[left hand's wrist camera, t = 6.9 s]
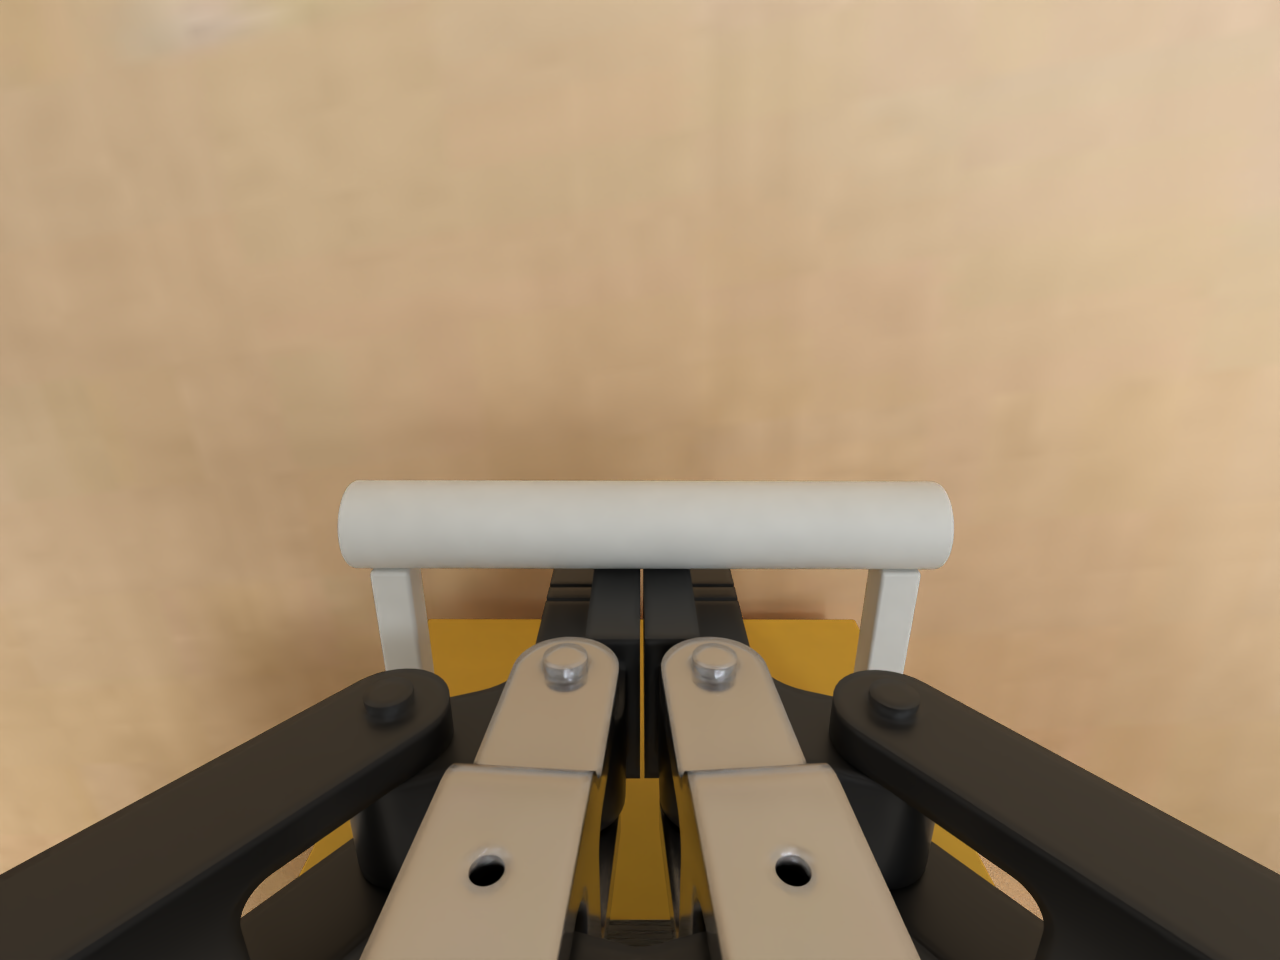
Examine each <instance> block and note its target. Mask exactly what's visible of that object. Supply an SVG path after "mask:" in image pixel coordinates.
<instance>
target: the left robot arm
mask: <svg viewBox="0 0 1280 960" xmlns="http://www.w3.org/2000/svg"><path fill="white" fill-rule="evenodd" d="M643 669H644V778H659V832H660V840H661V848H662V857H663V865H664V873H665V881H666V889H667V898H668V906H669V914H670V922H671V930H672V938H673V940H670V941H666V942H662V943H659V944H655V945H651V946H645V947H635V946H629V945H625V944H621V943H618V942H614V941H610V940H607V939H608V931H609V922H610V914H611V906H612V898H613V890H614V881H615V873H616V865H617V857H618V849H619V841H620V832H621V811H622V809H623V806H624V804H625V795H626V779H640V569H554V571H553V575H552V579H551V583H550V587H549V591H548V595H547V601H546V603H545V607H544V611H543V615H542V619H541V623H540V627H539V631H538V635H537V639H536V644H535V645H533V646H531V647H530V648H528V649H526V650H525V651H524V652H523V653H522V654H521V655H520V656H519V657H518V658H517V659H516V661H515V663H514V665H513V667H512V670H511V672H510V674H509V677H508V679H507V681H505V682H503V683H501V684H499V685H496V686H494V687H491V688H488V689H484V690H480V691H476V692H471V693H467V694H462V695H457V696H453V697H450V693H449V688H448V686H447V684H446V682H445V681H444V680H443V679H442V678H441V677H440V676H438V675H436V674H434V673H432V672H429V671H426V670H421V669H410V668H405V669H394V670H389V671H384V672H381V673H377V674H374V675H372V676H369V677H366V678H364V679H362V680H360V681H358V682H356V683H354V684H353V685H351V686H349V687H347V688H345V689H343V690H342V691H340V692H338V693H336V694H334V695H332V696H330V697H329V698H327V699H325V700H323V701H321V702H319V703H317V704H316V705H314V706H312V707H310V708H308V709H306V710H304V711H303V712H301V713H299V714H297V715H295V716H293V717H292V718H290V719H288V720H286V721H284V722H282V723H280V724H279V725H277V726H275V727H273V728H271V729H269V730H267V731H266V732H264V733H262V734H260V735H258V736H256V737H255V738H253V739H251V740H249V741H247V742H245V743H243V744H242V745H240V746H238V747H236V748H234V749H232V750H230V751H229V752H227V753H225V754H223V755H221V756H219V757H217V758H216V759H214V760H212V761H210V762H208V763H206V764H205V765H203V766H201V767H199V768H197V769H195V770H193V771H192V772H190V773H188V774H186V775H184V776H182V777H180V778H179V779H177V780H175V781H173V782H171V783H169V784H168V785H166V786H164V787H162V788H160V789H158V790H156V791H155V792H153V793H151V794H149V795H147V796H145V797H143V798H142V799H140V800H138V801H136V802H134V803H132V804H130V805H129V806H127V807H125V808H123V809H121V810H119V811H118V812H116V813H114V814H112V815H110V816H108V817H106V818H105V819H103V820H101V821H99V822H97V823H95V824H93V825H92V826H90V827H88V828H86V829H84V830H82V831H81V832H79V833H77V834H75V835H73V836H71V837H69V838H68V839H66V840H64V841H62V842H60V843H58V844H56V845H55V846H53V847H51V848H49V849H47V850H45V851H44V852H42V853H40V854H38V855H36V856H34V857H32V858H31V859H29V860H27V861H25V862H23V863H21V864H19V865H18V866H16V867H14V868H12V869H10V870H8V871H6V872H5V873H3V874H1V875H0V960H1280V875H1279V874H1277V873H1275V872H1274V871H1272V870H1270V869H1268V868H1266V867H1264V866H1262V865H1261V864H1259V863H1257V862H1255V861H1253V860H1251V859H1249V858H1248V857H1246V856H1244V855H1242V854H1240V853H1238V852H1237V851H1235V850H1233V849H1231V848H1229V847H1227V846H1225V845H1224V844H1222V843H1220V842H1218V841H1216V840H1214V839H1212V838H1211V837H1209V836H1207V835H1205V834H1203V833H1201V832H1199V831H1198V830H1196V829H1194V828H1192V827H1190V826H1188V825H1187V824H1185V823H1183V822H1181V821H1179V820H1177V819H1175V818H1174V817H1172V816H1170V815H1168V814H1166V813H1164V812H1162V811H1161V810H1159V809H1157V808H1155V807H1153V806H1151V805H1150V804H1148V803H1146V802H1144V801H1142V800H1140V799H1138V798H1137V797H1135V796H1133V795H1131V794H1129V793H1127V792H1125V791H1124V790H1122V789H1120V788H1118V787H1116V786H1114V785H1112V784H1111V783H1109V782H1107V781H1105V780H1103V779H1101V778H1100V777H1098V776H1096V775H1094V774H1092V773H1090V772H1088V771H1087V770H1085V769H1083V768H1081V767H1079V766H1077V765H1075V764H1074V763H1072V762H1070V761H1068V760H1066V759H1064V758H1063V757H1061V756H1059V755H1057V754H1055V753H1053V752H1051V751H1050V750H1048V749H1046V748H1044V747H1042V746H1040V745H1038V744H1037V743H1035V742H1033V741H1031V740H1029V739H1027V738H1025V737H1024V736H1022V735H1020V734H1018V733H1016V732H1014V731H1013V730H1011V729H1009V728H1007V727H1005V726H1003V725H1001V724H1000V723H998V722H996V721H994V720H992V719H990V718H988V717H987V716H985V715H983V714H981V713H979V712H977V711H976V710H974V709H972V708H970V707H968V706H966V705H964V704H963V703H961V702H959V701H957V700H955V699H953V698H951V697H950V696H948V695H946V694H944V693H942V692H940V691H938V690H937V689H935V688H933V687H931V686H929V685H927V684H926V683H924V682H922V681H919V680H917V679H915V678H913V677H910V676H907V675H904V674H900V673H897V672H891V671H886V670H864V671H858V672H855V673H851V674H849V675H847V676H845V677H844V678H842V679H841V680H840V681H839V682H838V683H837V685H836V686H835V689H834V691H833V696H829V695H824V694H820V693H815V692H810V691H806V690H802V689H798V688H795V687H792V686H789V685H786V684H784V683H782V682H780V681H778V680H776V679H774V678H773V677H771V674H770V672H769V669H768V667H767V665H766V663H765V661H764V659H763V658H762V657H761V656H760V655H759V654H758V653H757V652H756V651H755V650H754V649H752V648H750V645H749V641H748V637H747V634H746V630H745V626H744V622H743V618H742V614H741V610H740V606H739V602H738V601H737V595H736V591H735V587H734V583H733V579H732V575H731V571H730V569H643ZM349 820H350V824H351V829H352V834H353V838H352V839H350V840H349V841H348V842H346V843H345V844H343V845H342V846H341V847H339V848H338V849H337V850H335V851H334V852H332V853H331V854H330V855H328V856H327V857H325V858H324V859H323V860H321V861H320V862H318V863H317V864H316V865H314V866H313V867H311V868H310V869H309V870H307V871H306V872H305V873H303V874H302V875H300V876H299V877H298V878H296V879H295V880H293V881H292V882H291V883H289V884H288V885H286V886H285V887H284V888H282V889H281V890H279V891H278V892H277V893H275V894H274V895H273V896H271V897H270V898H268V899H267V900H266V901H264V902H263V903H261V904H260V905H259V906H257V907H256V908H254V909H253V910H252V911H250V912H249V913H247V914H246V915H245V916H243V917H242V918H241V914H242V911H243V908H244V906H245V904H246V902H247V900H248V898H249V897H250V895H251V894H252V893H253V891H254V890H255V889H256V888H257V887H258V886H259V884H260V883H262V882H263V881H264V880H265V879H266V878H267V877H268V876H270V875H271V874H272V873H274V872H275V871H277V870H278V869H279V868H281V867H282V866H284V865H285V864H287V863H288V862H290V861H291V860H292V859H294V858H295V857H297V856H298V855H300V854H301V853H302V852H304V851H305V850H307V849H308V848H310V847H311V846H313V845H314V844H315V843H317V842H318V841H320V840H321V839H323V838H324V837H325V836H327V835H328V834H330V833H331V832H333V831H334V830H336V829H337V828H338V827H340V826H341V825H343V824H344V823H346V822H347V821H349ZM935 823H936V824H937V825H939V826H940V827H942V828H943V829H944V830H946V831H947V832H949V833H950V834H952V835H953V836H955V837H956V838H957V839H959V840H960V841H962V842H963V843H965V844H966V845H967V846H969V847H970V848H972V849H973V850H975V851H976V852H978V853H979V854H980V855H982V856H983V857H985V858H986V859H988V860H989V861H990V862H992V863H993V864H995V865H996V866H998V867H999V868H1001V869H1002V870H1003V871H1005V872H1006V873H1008V874H1009V875H1011V876H1012V877H1013V878H1015V879H1016V880H1017V881H1018V882H1020V883H1021V884H1022V885H1023V886H1024V887H1025V888H1026V889H1027V891H1028V892H1029V893H1030V894H1031V895H1032V897H1033V898H1034V900H1035V901H1036V903H1037V905H1038V906H1039V908H1040V911H1041V913H1042V916H1043V920H1044V921H1043V920H1041V919H1040V918H1038V917H1037V916H1035V915H1034V914H1033V913H1031V912H1030V911H1028V910H1027V909H1026V908H1024V907H1023V906H1021V905H1020V904H1019V903H1017V902H1016V901H1014V900H1013V899H1012V898H1010V897H1009V896H1007V895H1006V894H1005V893H1003V892H1002V891H1001V890H999V889H998V888H996V887H995V886H994V885H992V884H991V883H989V882H988V881H987V880H985V879H984V878H982V877H981V876H980V875H978V874H977V873H975V872H974V871H973V870H971V869H970V868H969V867H967V866H966V865H964V864H963V863H962V862H960V861H959V860H957V859H956V858H955V857H953V856H952V855H950V854H949V853H948V852H946V851H945V850H943V849H942V848H941V847H939V846H938V845H937V844H935V843H934V842H932V841H931V840H932V835H933V831H934V826H935Z"/></svg>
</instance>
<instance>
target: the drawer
mask: <svg viewBox="0 0 1280 960" xmlns="http://www.w3.org/2000/svg"><path fill="white" fill-rule="evenodd" d="M953 537H954V519H953V511H952V506H951V503H950V500H949V497H948V495H947V493H946V491H945V490H944V488H943V487H942V486H941V485H940V484H938V483H936V482H932V481H569V480H356V481H354V482H352V483H351V484H350V485H349V486H348V487H347V488H346V490H345V492H344V494H343V497H342V500H341V503H340V508H339V514H338V540H339V546H340V550H341V553H342V556H343V558H344V560H345V561H346V563H347V564H348V565H349V566H351V567H353V568H373V570H372V571H371V574H370V576H371V583H372V589H373V595H374V601H375V607H376V614H377V620H378V626H379V632H380V638H381V644H382V651H383V657H384V663H385V669H386V671H389V670H394V669H405V668H410V669H421V670H426V671H429V672H432V673H434V674H436V675H438V676H440V677H441V678H442V679H443V680H444V681H445V682H446V684H447V686H448V688H449V693H450V697H453V696H457V695H462V694H467V693H471V692H476V691H480V690H484V689H488V688H491V687H494V686H496V685H499V684H501V683H503V682H505V681H507V679H508V677H509V674H510V672H511V670H512V667H513V665H514V663H515V661H516V659H517V658H518V657H519V656H520V655H521V654H522V653H523V652H524V651H525V650H526V649H528V648H530V647H531V646H533V645H535V644H536V639H537V635H538V631H539V627H540V623H541V619H429V620H428V621H427V613H426V605H425V598H424V590H423V582H422V575H421V568H517V569H869V571H868V578H867V585H866V592H865V598H864V605H863V612H862V619H861V626H860V630H859V628H858V626H857V624H856V622H855V620H760V619H743V622H744V626H745V630H746V634H747V637H748V641H749V645H750V648H752V649H754V650H755V651H756V652H757V653H758V654H759V655H760V656H761V657H762V658H763V659H764V661H765V663H766V665H767V667H768V669H769V672H770V674H771V677H773V678H774V679H776V680H778V681H780V682H782V683H784V684H786V685H789V686H792V687H795V688H798V689H802V690H806V691H810V692H815V693H820V694H824V695H829V696H833V691H834V689H835V686H836V685H837V683H838V682H839V681H840V680H841V679H842V678H844V677H845V676H847V675H849V674H851V673H855V672H858V671H864V670H886V671H891V672H897V673H900V674H903V671H904V666H905V660H906V654H907V649H908V643H909V638H910V632H911V626H912V621H913V615H914V610H915V604H916V599H917V593H918V587H919V582H920V576H921V575H920V572H919V571H918V570H917V569H937V568H939V567H941V566H943V565H944V564H945V562H946V561H947V559H948V557H949V555H950V552H951V549H952V544H953ZM352 838H353V834H352V829H351V824H350V820H349V821H347V822H346V823H344V824H343V825H341V826H340V827H338V828H337V829H336V830H334V831H333V832H331V833H330V834H328V835H327V836H325V837H324V838H323V839H321V840H320V841H318V842H317V843H315V845H314V847H313V849H312V851H311V853H310V855H309V857H308V859H307V861H306V863H305V865H304V867H303V869H302V871H301V873H300V875H302V874H303V873H305V872H306V871H307V870H309V869H310V868H311V867H313V866H314V865H316V864H317V863H318V862H320V861H321V860H323V859H324V858H325V857H327V856H328V855H330V854H331V853H332V852H334V851H335V850H337V849H338V848H339V847H341V846H342V845H343V844H345V843H346V842H348V841H349V840H350V839H352ZM931 841H932V842H934V843H935V844H937V845H938V846H939V847H941V848H942V849H943V850H945V851H946V852H948V853H949V854H950V855H952V856H953V857H955V858H956V859H957V860H959V861H960V862H962V863H963V864H964V865H966V866H967V867H969V868H970V869H971V870H973V871H974V872H975V873H977V874H978V875H980V876H981V877H982V878H984V879H985V880H987V881H988V882H989V883H991V884H992V885H994V883H993V881H992V879H991V878H990V876H989V874H988V872H987V870H986V868H985V866H984V864H983V862H982V860H981V859H980V857H979V855H978V853H977V852H976V851H975V850H973V849H972V848H970V847H969V846H967V845H966V844H965V843H963V842H962V841H960V840H959V839H957V838H956V837H955V836H953V835H952V834H950V833H949V832H947V831H946V830H944V829H943V828H942V827H940V826H939V825H937V824H936V823H935V826H934V831H933V835H932V840H931ZM300 875H299V876H300ZM994 886H995V885H994ZM607 940H610V941H614V942H618V943H621V944H625V945H629V946H635V947H645V946H651V945H655V944H659V943H662V942H666V941H670V940H673V938H672V930H671V922H670V914H669V906H668V898H667V889H666V881H665V873H664V865H663V857H662V848H661V840H660V832H659V778H644V669H643V619H640V779H626V795H625V804H624V806H623V809H622V811H621V832H620V841H619V849H618V857H617V865H616V873H615V881H614V890H613V898H612V906H611V914H610V922H609V931H608V939H607Z"/></svg>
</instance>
